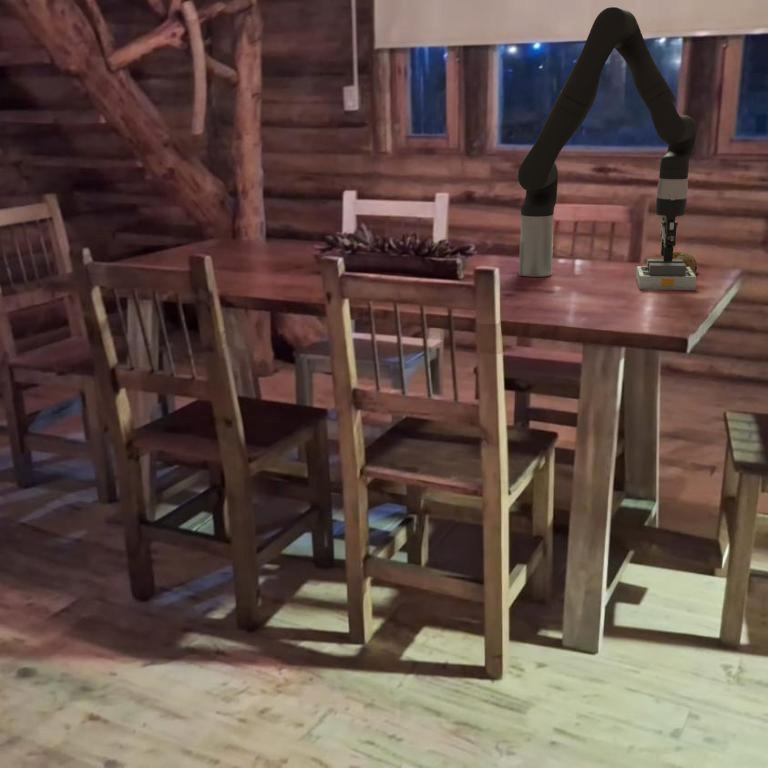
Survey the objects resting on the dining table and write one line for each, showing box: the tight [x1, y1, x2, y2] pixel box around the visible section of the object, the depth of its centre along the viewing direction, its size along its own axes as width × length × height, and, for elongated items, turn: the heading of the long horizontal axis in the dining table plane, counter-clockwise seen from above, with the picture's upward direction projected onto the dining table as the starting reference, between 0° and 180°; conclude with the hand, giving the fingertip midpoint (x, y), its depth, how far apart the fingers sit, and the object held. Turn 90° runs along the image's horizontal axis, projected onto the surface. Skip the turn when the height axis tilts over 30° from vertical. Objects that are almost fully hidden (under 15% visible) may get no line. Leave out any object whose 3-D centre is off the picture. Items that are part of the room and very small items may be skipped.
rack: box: [635, 258, 697, 291], centre depth 235 cm, size 14×16×6 cm
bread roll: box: [673, 250, 698, 275], centre depth 251 cm, size 10×10×8 cm
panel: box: [648, 263, 686, 276], centre depth 232 cm, size 9×4×5 cm, turn 77°
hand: (666, 258), depth 231 cm, fingers open, 8 cm apart
